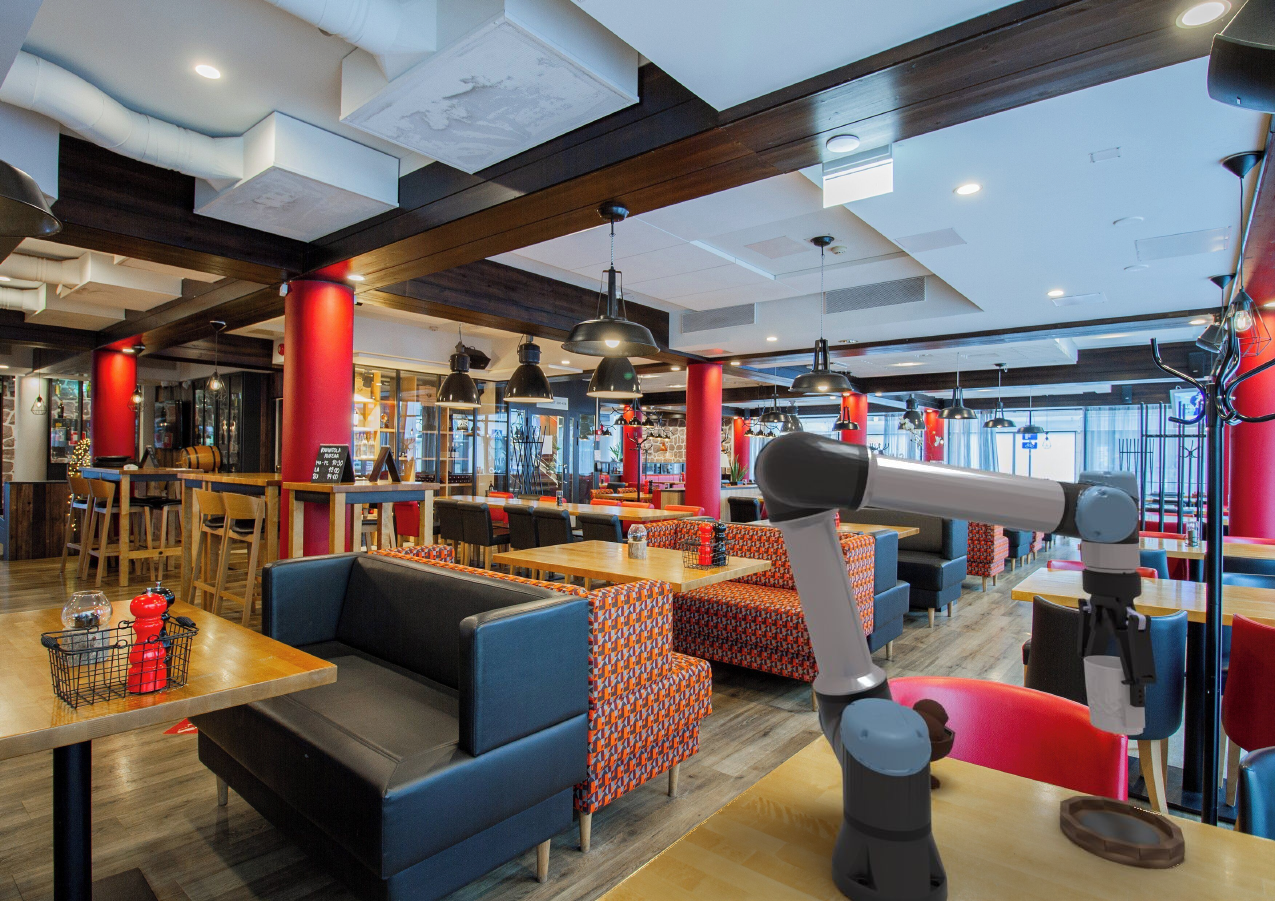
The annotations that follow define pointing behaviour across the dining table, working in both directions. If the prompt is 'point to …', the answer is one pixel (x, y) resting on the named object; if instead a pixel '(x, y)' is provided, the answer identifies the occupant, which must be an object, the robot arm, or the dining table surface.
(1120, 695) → the white cup
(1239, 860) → the dining table surface
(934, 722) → the ice cream bowl
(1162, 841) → the tray
